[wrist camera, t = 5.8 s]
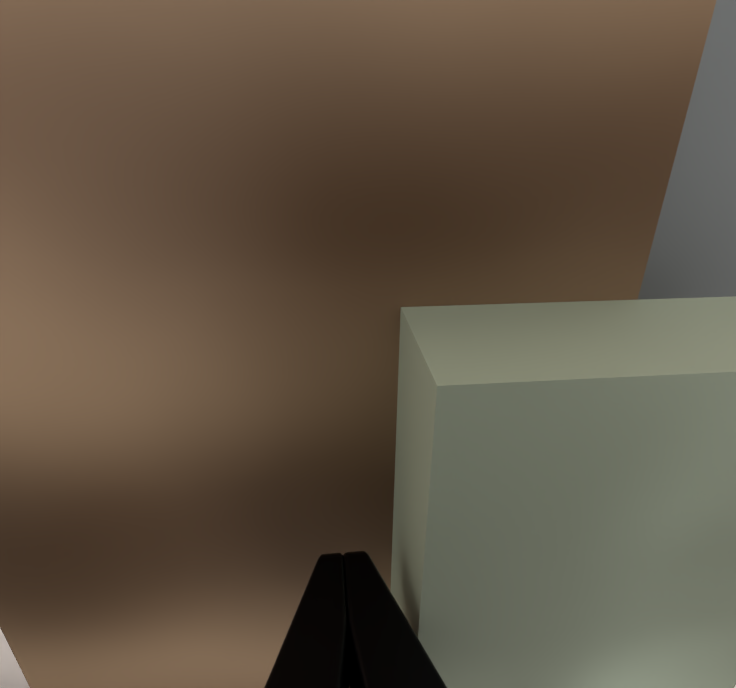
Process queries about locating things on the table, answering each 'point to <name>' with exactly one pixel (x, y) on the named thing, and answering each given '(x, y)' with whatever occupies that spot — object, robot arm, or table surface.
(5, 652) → the table surface
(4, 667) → the table surface
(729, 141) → the charcoal mat
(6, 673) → the table surface
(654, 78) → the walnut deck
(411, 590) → the sage tile
